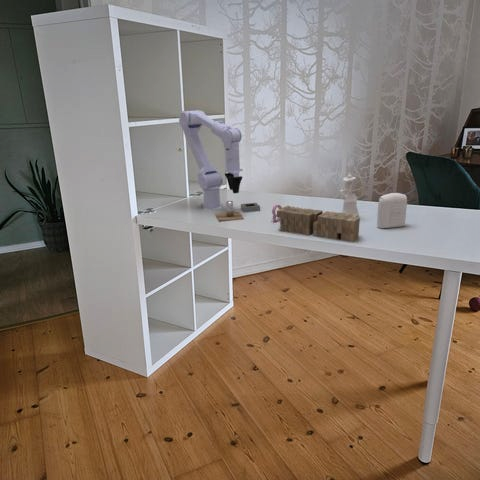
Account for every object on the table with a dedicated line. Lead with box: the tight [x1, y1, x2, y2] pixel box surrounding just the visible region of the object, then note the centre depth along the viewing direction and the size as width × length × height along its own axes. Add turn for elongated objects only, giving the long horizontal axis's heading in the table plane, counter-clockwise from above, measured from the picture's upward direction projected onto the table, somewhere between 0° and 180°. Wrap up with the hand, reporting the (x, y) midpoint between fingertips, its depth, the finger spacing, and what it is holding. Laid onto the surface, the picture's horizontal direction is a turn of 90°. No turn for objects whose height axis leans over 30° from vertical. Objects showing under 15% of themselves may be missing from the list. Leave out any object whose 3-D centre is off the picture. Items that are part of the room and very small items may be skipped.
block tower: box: [276, 205, 361, 243], centre depth 154 cm, size 8×8×29 cm
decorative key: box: [271, 204, 299, 223], centre depth 176 cm, size 7×1×20 cm
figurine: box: [339, 172, 361, 218], centre depth 168 cm, size 7×8×18 cm
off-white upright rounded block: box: [376, 192, 408, 229], centre depth 156 cm, size 10×4×12 cm, turn 103°
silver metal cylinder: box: [225, 200, 234, 217], centre depth 177 cm, size 3×3×6 cm
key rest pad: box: [214, 211, 245, 223], centre depth 178 cm, size 10×10×1 cm
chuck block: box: [240, 202, 261, 213], centre depth 188 cm, size 7×7×2 cm
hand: (234, 191), depth 183 cm, fingers open, 7 cm apart
